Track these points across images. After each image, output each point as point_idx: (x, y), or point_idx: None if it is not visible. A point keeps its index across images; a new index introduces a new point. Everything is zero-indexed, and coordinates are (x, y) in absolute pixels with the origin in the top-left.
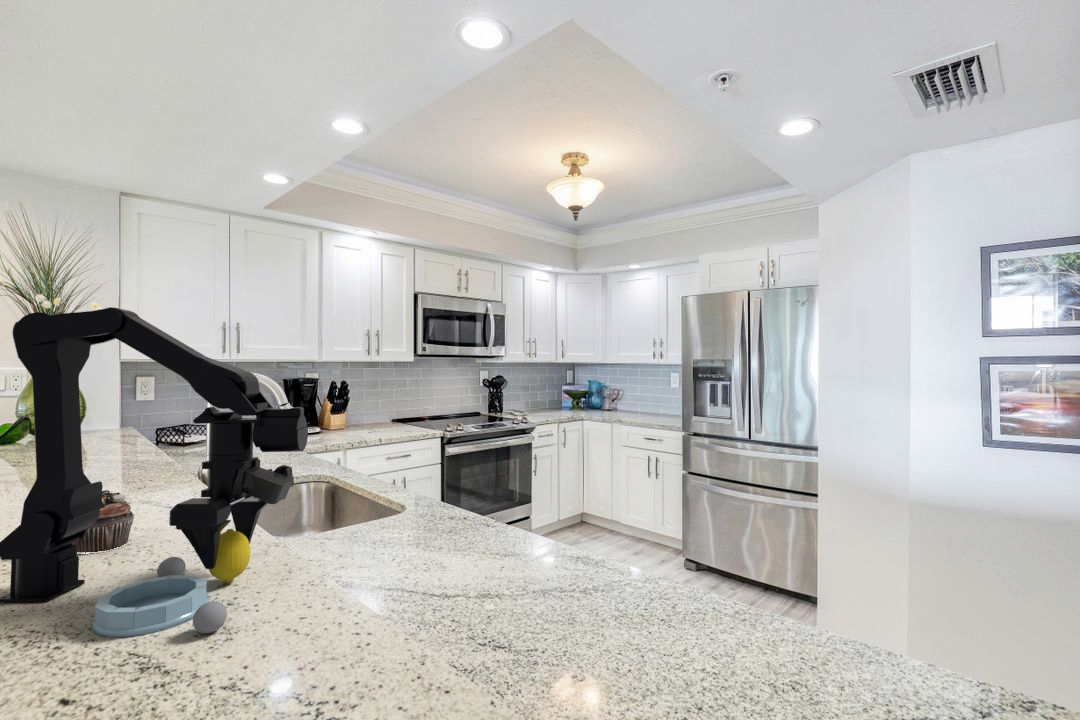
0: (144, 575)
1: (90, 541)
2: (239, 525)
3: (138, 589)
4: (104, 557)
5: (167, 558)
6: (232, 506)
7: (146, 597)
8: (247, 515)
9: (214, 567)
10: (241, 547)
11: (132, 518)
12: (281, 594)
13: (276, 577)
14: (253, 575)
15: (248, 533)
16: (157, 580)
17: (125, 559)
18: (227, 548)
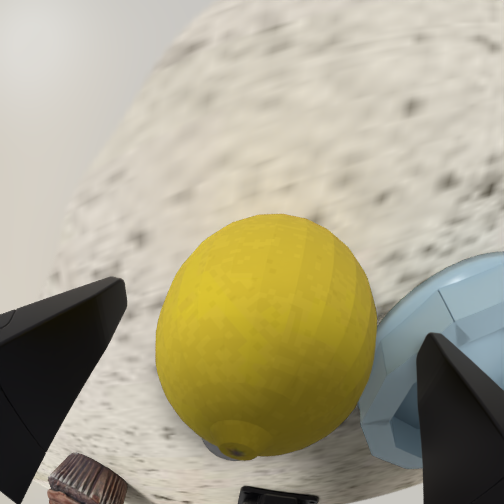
0: (202, 441)
1: (117, 494)
2: (64, 386)
3: (404, 441)
4: (129, 472)
5: (229, 459)
6: (20, 483)
7: (396, 414)
8: (10, 394)
9: (431, 332)
10: (327, 288)
11: (57, 478)
12: (441, 20)
13: (248, 81)
14: (214, 189)
15: (81, 316)
16: (391, 435)
17: (130, 458)
18: (371, 359)
